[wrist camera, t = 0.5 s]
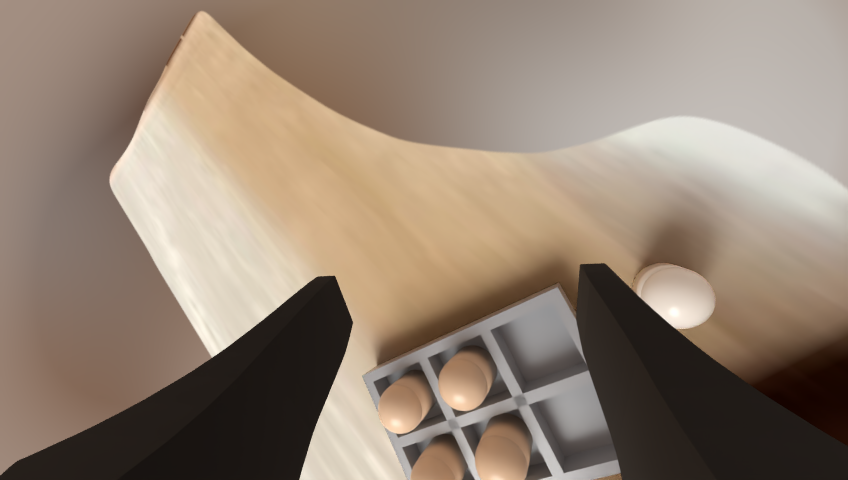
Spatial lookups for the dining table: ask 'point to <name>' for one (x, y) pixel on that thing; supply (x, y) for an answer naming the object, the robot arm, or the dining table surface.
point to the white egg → (676, 294)
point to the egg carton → (498, 400)
